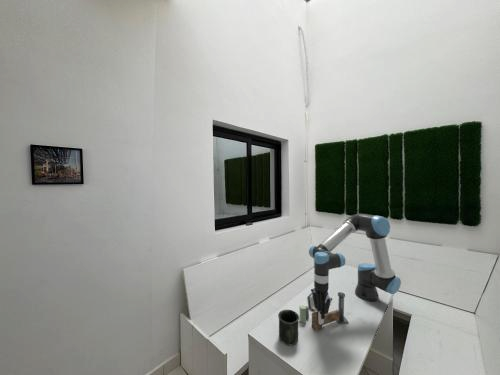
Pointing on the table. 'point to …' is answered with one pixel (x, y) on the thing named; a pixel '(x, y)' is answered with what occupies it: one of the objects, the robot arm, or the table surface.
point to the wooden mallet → (328, 319)
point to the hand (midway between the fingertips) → (320, 323)
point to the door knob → (341, 309)
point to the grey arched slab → (312, 302)
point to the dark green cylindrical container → (288, 326)
